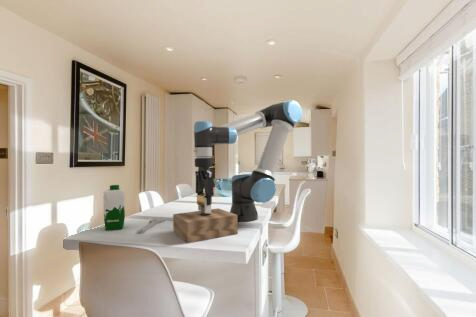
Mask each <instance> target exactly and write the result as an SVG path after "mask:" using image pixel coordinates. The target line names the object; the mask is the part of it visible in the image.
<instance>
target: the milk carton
mask: <svg viewBox="0 0 476 317" xmlns="http://www.w3.org/2000/svg"><path fill="white" fill-rule="evenodd" d="M102 199H103V219H104V230H105V231H118V230H119V231H120V230H123V228H124V226H125V220H126V219H125V218H126V212H125V211H126V210H125V209H126V207H125V203H126V202H125V201H126V200H125V189H124V188H120V185H119V184H112V185H109V189H106V190H104V191H103V198H102Z"/></svg>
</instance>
